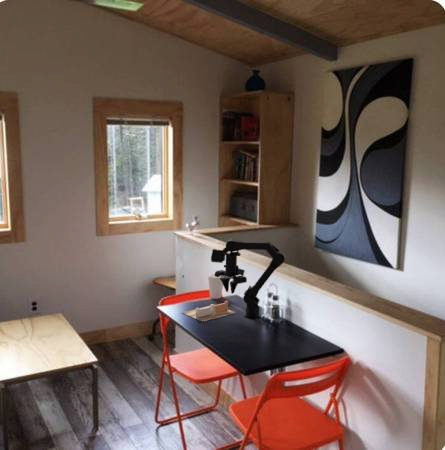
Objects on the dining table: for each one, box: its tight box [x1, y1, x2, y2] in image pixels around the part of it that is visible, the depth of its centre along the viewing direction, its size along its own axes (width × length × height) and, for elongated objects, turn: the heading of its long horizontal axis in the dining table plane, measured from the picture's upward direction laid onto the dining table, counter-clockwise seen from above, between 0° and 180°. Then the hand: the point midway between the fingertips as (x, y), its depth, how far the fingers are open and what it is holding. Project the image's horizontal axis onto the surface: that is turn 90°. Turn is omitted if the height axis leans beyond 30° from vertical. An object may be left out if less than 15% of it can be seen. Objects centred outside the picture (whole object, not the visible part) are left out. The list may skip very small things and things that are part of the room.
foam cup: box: [207, 273, 224, 300], centre depth 307 cm, size 10×9×13 cm
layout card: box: [181, 305, 237, 323], centre depth 278 cm, size 17×24×1 cm
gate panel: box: [214, 300, 229, 313], centre depth 279 cm, size 2×9×5 cm, turn 132°
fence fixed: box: [195, 303, 215, 318], centre depth 272 cm, size 2×12×6 cm, turn 132°
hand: (229, 292), depth 275 cm, fingers open, 4 cm apart
